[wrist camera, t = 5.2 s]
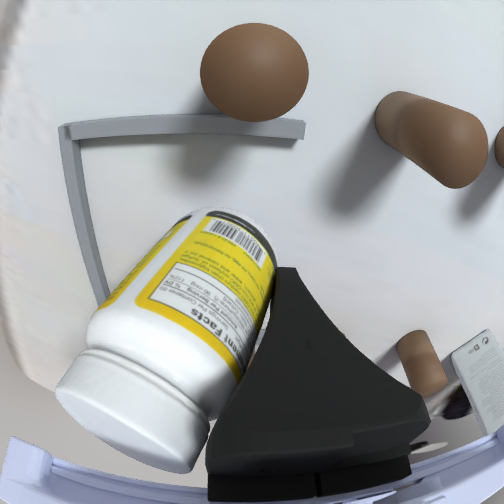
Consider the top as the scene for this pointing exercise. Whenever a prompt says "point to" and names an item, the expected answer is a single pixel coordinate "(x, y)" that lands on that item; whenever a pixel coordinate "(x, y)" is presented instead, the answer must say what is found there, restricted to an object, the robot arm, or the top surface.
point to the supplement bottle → (174, 340)
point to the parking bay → (140, 126)
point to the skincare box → (483, 379)
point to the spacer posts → (387, 124)
